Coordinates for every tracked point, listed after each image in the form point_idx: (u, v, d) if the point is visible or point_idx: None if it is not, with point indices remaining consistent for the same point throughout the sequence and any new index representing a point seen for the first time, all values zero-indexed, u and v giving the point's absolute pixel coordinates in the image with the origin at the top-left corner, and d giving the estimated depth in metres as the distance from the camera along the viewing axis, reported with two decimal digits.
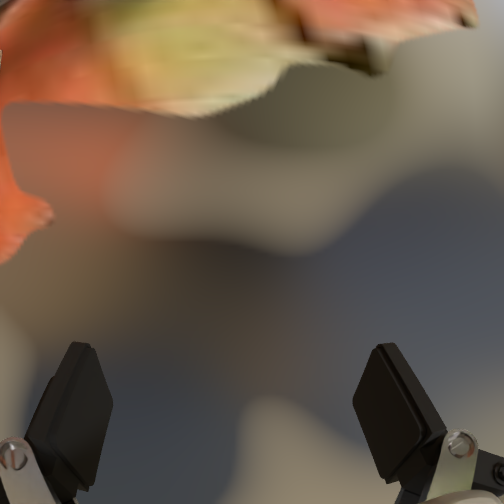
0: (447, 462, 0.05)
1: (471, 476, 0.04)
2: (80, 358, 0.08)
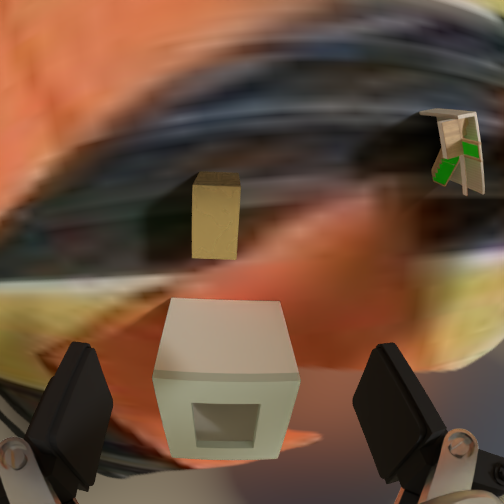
0: (447, 462, 0.05)
1: (471, 476, 0.04)
2: (80, 358, 0.08)
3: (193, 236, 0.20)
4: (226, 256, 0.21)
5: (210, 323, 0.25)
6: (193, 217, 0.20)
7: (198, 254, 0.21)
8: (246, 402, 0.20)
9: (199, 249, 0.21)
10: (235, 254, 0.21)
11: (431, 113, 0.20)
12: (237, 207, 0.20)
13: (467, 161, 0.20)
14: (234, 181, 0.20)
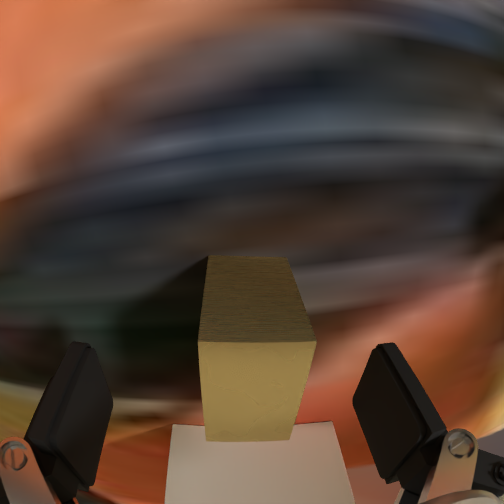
0: (447, 462, 0.05)
1: (471, 476, 0.04)
2: (80, 358, 0.08)
3: (206, 418, 0.09)
4: (271, 438, 0.10)
5: (235, 476, 0.13)
6: (204, 394, 0.08)
7: (217, 437, 0.09)
8: None
9: (219, 433, 0.09)
10: (288, 435, 0.10)
11: None
12: (303, 376, 0.08)
13: None
14: (292, 306, 0.09)
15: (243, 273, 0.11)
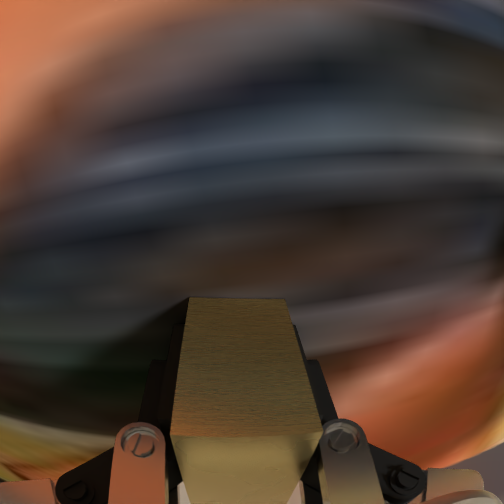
0: (334, 462, 0.06)
1: (345, 473, 0.05)
2: None
3: (190, 492, 0.06)
4: None
5: None
6: (185, 476, 0.06)
7: None
8: None
9: (206, 502, 0.07)
10: (285, 501, 0.07)
11: None
12: (304, 461, 0.06)
13: None
14: (292, 377, 0.07)
15: (231, 326, 0.08)
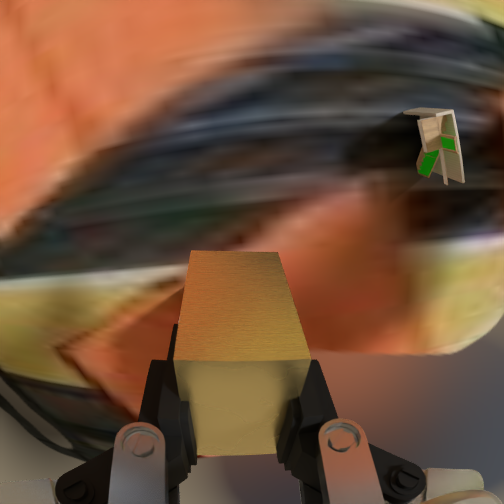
0: (334, 462, 0.06)
1: (346, 473, 0.05)
2: None
3: None
4: (261, 451, 0.09)
5: None
6: None
7: (203, 451, 0.08)
8: None
9: (205, 447, 0.08)
10: None
11: (413, 112, 0.23)
12: (296, 394, 0.07)
13: (447, 154, 0.23)
14: (284, 314, 0.08)
15: (229, 273, 0.09)
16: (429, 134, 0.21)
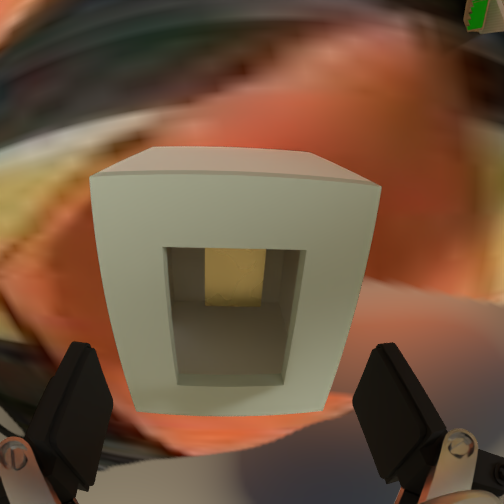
0: (447, 462, 0.05)
1: (471, 476, 0.04)
2: (80, 358, 0.08)
3: (206, 280, 0.16)
4: (248, 303, 0.17)
5: (208, 152, 0.15)
6: (206, 257, 0.15)
7: (212, 301, 0.16)
8: (277, 244, 0.11)
9: (214, 295, 0.16)
10: (259, 300, 0.17)
11: None
12: None
13: None
14: None
15: None
16: None
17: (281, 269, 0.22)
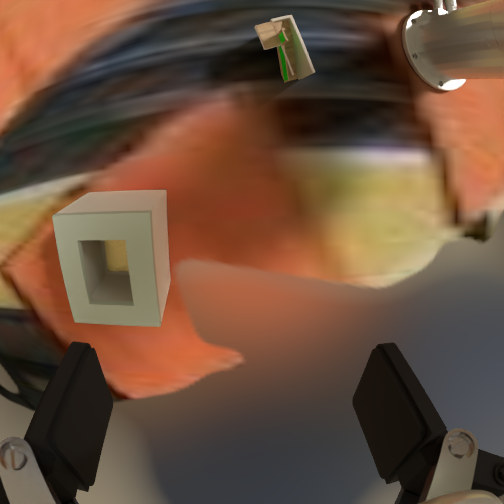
0: (447, 462, 0.05)
1: (471, 476, 0.04)
2: (80, 358, 0.08)
3: (107, 258, 0.31)
4: (127, 269, 0.32)
5: (107, 197, 0.31)
6: (105, 246, 0.31)
7: (111, 268, 0.32)
8: (114, 238, 0.26)
9: (111, 265, 0.32)
10: None
11: None
12: None
13: (299, 54, 0.27)
14: None
15: None
16: (265, 34, 0.24)
17: None
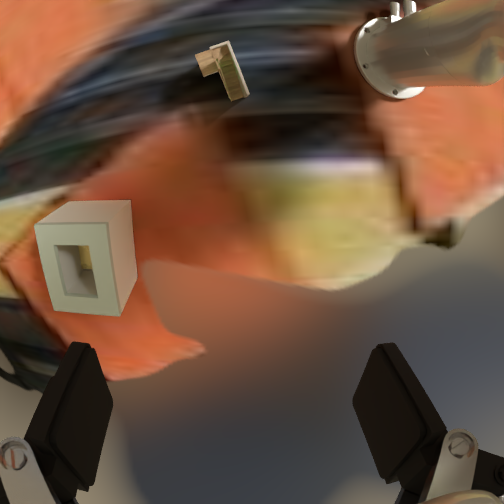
0: (447, 462, 0.05)
1: (471, 476, 0.04)
2: (80, 358, 0.08)
3: (80, 258, 0.36)
4: None
5: (80, 207, 0.36)
6: (79, 248, 0.36)
7: (84, 266, 0.37)
8: (80, 243, 0.31)
9: (84, 264, 0.37)
10: None
11: None
12: None
13: (238, 77, 0.31)
14: None
15: None
16: (203, 62, 0.29)
17: None
